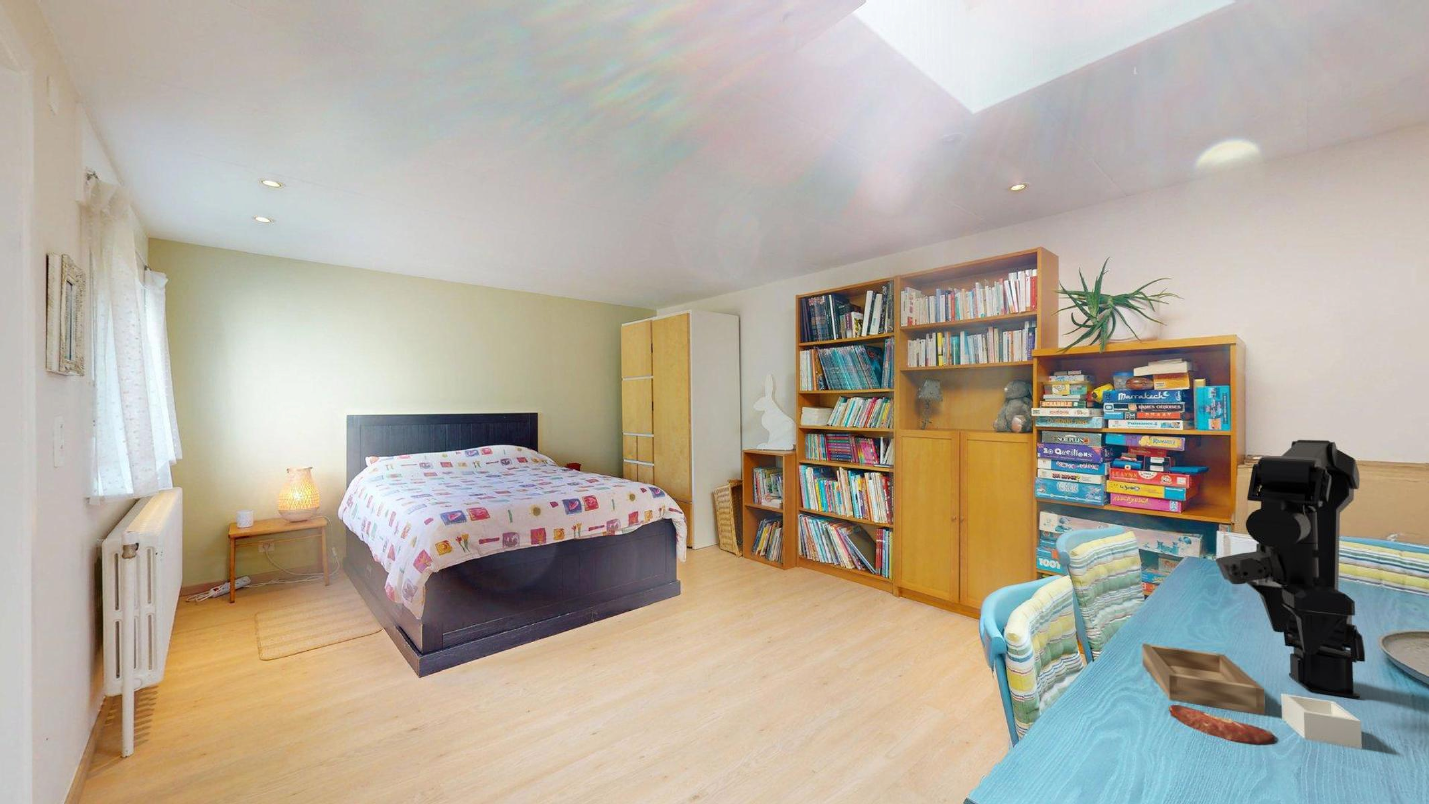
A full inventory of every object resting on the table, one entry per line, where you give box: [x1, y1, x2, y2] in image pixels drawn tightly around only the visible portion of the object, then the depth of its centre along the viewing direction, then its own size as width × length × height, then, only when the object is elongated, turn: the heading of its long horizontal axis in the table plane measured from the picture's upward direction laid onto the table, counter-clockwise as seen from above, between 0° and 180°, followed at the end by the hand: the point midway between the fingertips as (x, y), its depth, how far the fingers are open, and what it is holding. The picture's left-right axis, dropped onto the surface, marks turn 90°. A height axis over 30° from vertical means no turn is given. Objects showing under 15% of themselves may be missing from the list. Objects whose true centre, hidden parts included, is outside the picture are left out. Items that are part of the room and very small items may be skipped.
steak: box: [1168, 704, 1276, 746], centre depth 83 cm, size 8×2×12 cm
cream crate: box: [1280, 693, 1363, 750], centre depth 82 cm, size 6×6×4 cm
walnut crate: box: [1142, 643, 1266, 716], centre depth 95 cm, size 12×14×4 cm
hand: (1292, 642), depth 84 cm, fingers open, 9 cm apart
